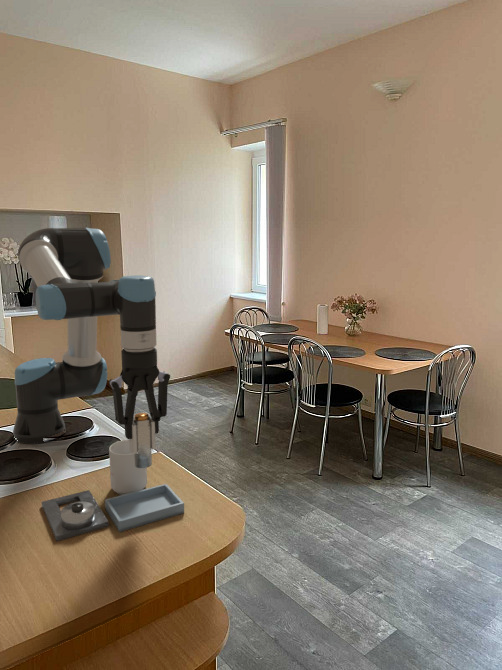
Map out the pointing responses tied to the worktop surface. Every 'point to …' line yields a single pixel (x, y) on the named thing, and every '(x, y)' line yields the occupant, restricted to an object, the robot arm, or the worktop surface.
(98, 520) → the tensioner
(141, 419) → the pin
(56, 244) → the robot arm
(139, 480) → the mug
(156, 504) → the tray
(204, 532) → the worktop surface
